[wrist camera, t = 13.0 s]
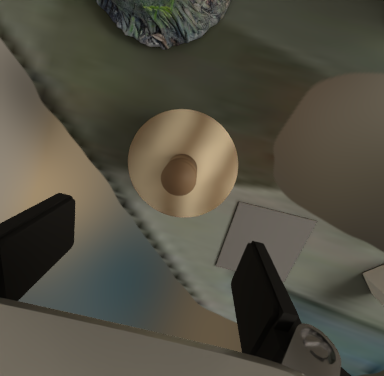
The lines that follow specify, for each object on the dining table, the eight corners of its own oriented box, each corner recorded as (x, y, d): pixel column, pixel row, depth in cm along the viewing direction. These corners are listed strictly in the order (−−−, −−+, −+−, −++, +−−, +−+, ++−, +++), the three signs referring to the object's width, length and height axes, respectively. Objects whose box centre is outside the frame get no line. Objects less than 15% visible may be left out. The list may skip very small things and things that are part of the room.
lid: (251, 126, 25) (267, 128, 19) (218, 223, 30) (222, 248, 24) (139, 96, 24) (120, 88, 19) (124, 200, 29) (105, 220, 24)
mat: (316, 220, 38) (317, 221, 38) (283, 280, 43) (284, 282, 43) (239, 201, 37) (239, 202, 37) (215, 264, 43) (215, 266, 42)
